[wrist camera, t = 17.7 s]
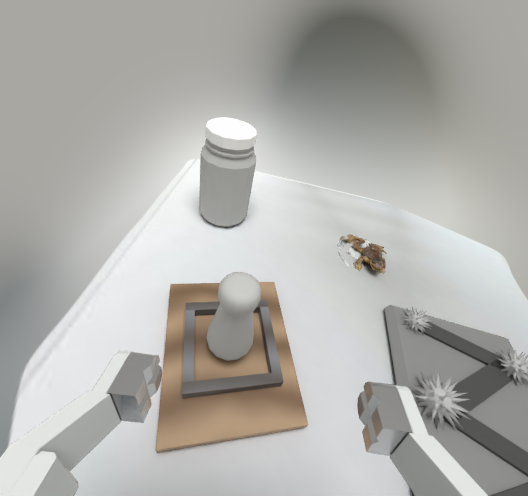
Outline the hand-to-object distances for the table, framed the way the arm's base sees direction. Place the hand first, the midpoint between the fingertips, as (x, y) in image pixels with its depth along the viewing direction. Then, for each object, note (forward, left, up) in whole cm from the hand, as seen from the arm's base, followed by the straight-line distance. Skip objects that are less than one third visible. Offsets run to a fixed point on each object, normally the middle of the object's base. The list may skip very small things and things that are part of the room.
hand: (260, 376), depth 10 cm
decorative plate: (-1, -33, -25) cm, 42 cm away
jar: (+41, -3, -25) cm, 48 cm away
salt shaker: (+12, -2, -23) cm, 26 cm away
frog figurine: (+29, -31, -25) cm, 49 cm away
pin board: (+12, -2, -24) cm, 27 cm away
